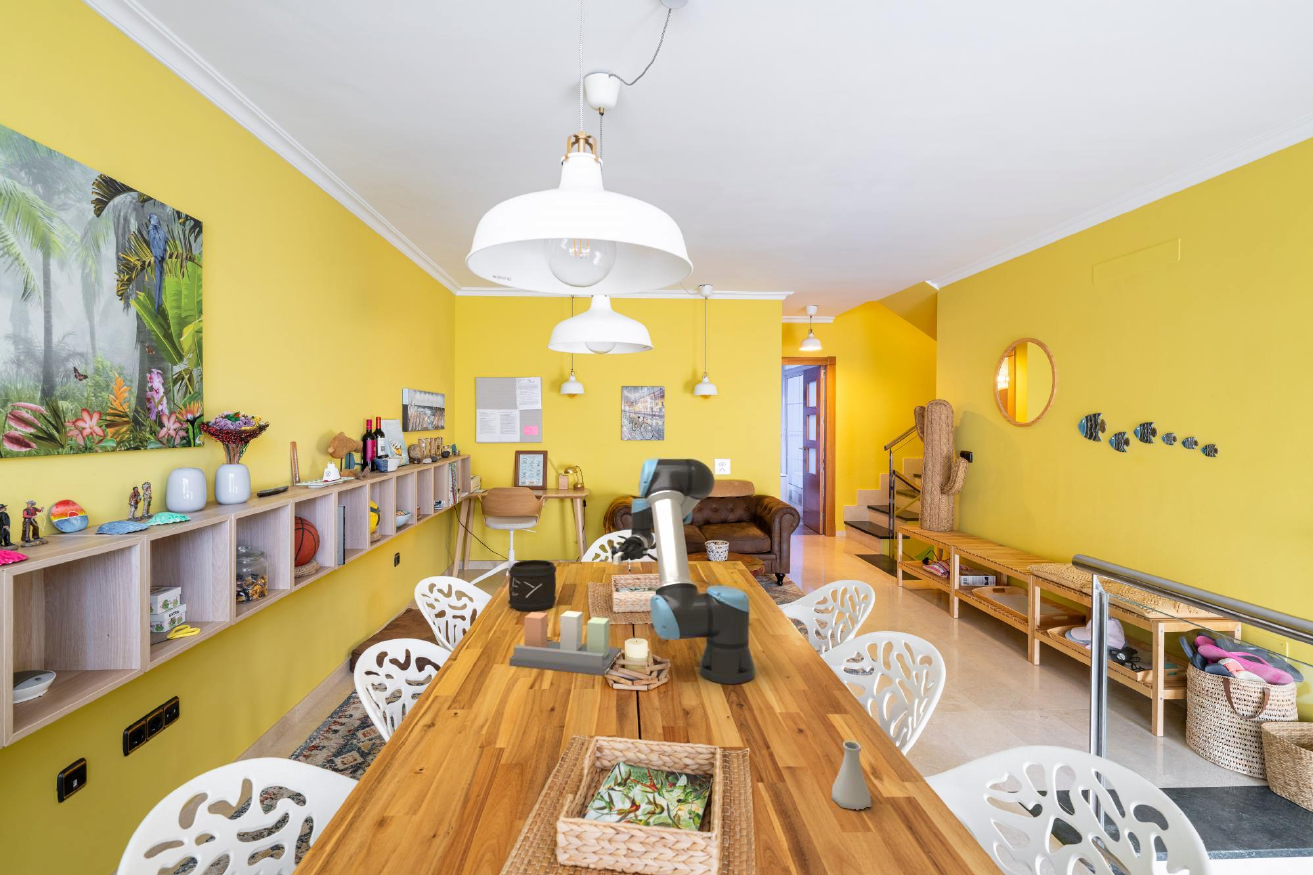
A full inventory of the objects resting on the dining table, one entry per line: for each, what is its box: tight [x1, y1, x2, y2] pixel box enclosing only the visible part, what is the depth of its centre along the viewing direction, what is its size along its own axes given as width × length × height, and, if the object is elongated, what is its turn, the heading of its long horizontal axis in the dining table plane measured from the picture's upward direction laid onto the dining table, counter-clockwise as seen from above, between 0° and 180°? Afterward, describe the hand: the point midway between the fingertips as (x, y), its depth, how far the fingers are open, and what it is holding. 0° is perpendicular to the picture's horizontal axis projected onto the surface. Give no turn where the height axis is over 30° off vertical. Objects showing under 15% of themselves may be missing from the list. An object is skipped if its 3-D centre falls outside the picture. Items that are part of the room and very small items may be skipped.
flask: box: [831, 740, 872, 811], centre depth 111 cm, size 7×7×10 cm
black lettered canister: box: [508, 559, 557, 613], centre depth 228 cm, size 18×18×16 cm
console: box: [509, 640, 622, 676], centre depth 176 cm, size 28×16×5 cm, turn 77°
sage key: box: [586, 616, 610, 659], centre depth 173 cm, size 5×5×10 cm
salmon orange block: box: [523, 611, 549, 648], centre depth 177 cm, size 5×5×10 cm
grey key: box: [559, 610, 584, 651], centre depth 179 cm, size 5×5×10 cm
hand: (615, 560), depth 189 cm, fingers closed
